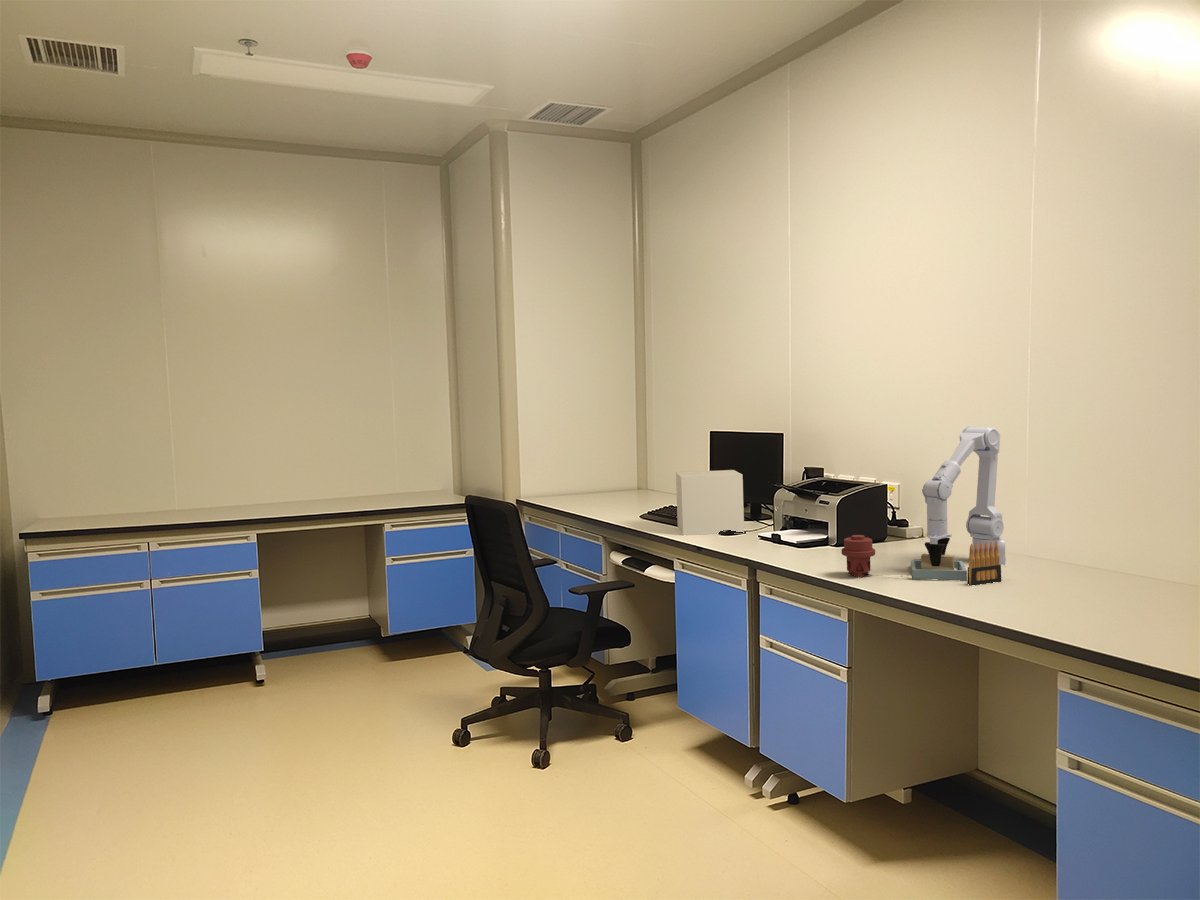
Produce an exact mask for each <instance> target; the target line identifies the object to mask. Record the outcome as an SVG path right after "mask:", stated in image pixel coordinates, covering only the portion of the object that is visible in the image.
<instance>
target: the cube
mask: <svg viewBox="0 0 1200 900" xmlns="http://www.w3.org/2000/svg"><path fill="white" fill-rule="evenodd" d="M675 483H676V484H675V487H676V490H675V491H676V514H677V516H676V517H677V519H676V520H677V529H678V528H679V529H678V530H679V531H681V532H680V533H681V534H682V536H683V535H686V536H702V535H703V536H704V535H705V536H706V535H718V534H717V533H719V532H720V531H723V530H731V531H736V532H743V533H742V534H745V516H744V515H745V513H744V512H745V511H744V479H743V474H742V473H740V472H738V471H737V470H735V469H725V470H723V469H722V470H700V471H677V472H675Z"/></svg>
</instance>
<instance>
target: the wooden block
mask: <svg viewBox="0 0 1200 900" xmlns="http://www.w3.org/2000/svg"><path fill="white" fill-rule="evenodd" d="M920 559H921V567H920V568H921V569H932V570H955V568H954V561H955V555H950V554H945V555H941V562H940V566H939V567H938V566H932V565H931V561H930V556H929V553H922V554H921V555H920Z"/></svg>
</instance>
